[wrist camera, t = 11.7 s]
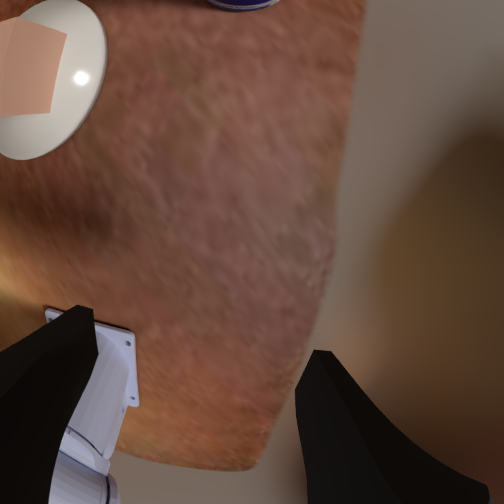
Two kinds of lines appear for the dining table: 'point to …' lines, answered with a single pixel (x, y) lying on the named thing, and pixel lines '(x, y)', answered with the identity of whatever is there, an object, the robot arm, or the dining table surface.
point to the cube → (28, 66)
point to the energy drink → (242, 4)
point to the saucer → (61, 81)
